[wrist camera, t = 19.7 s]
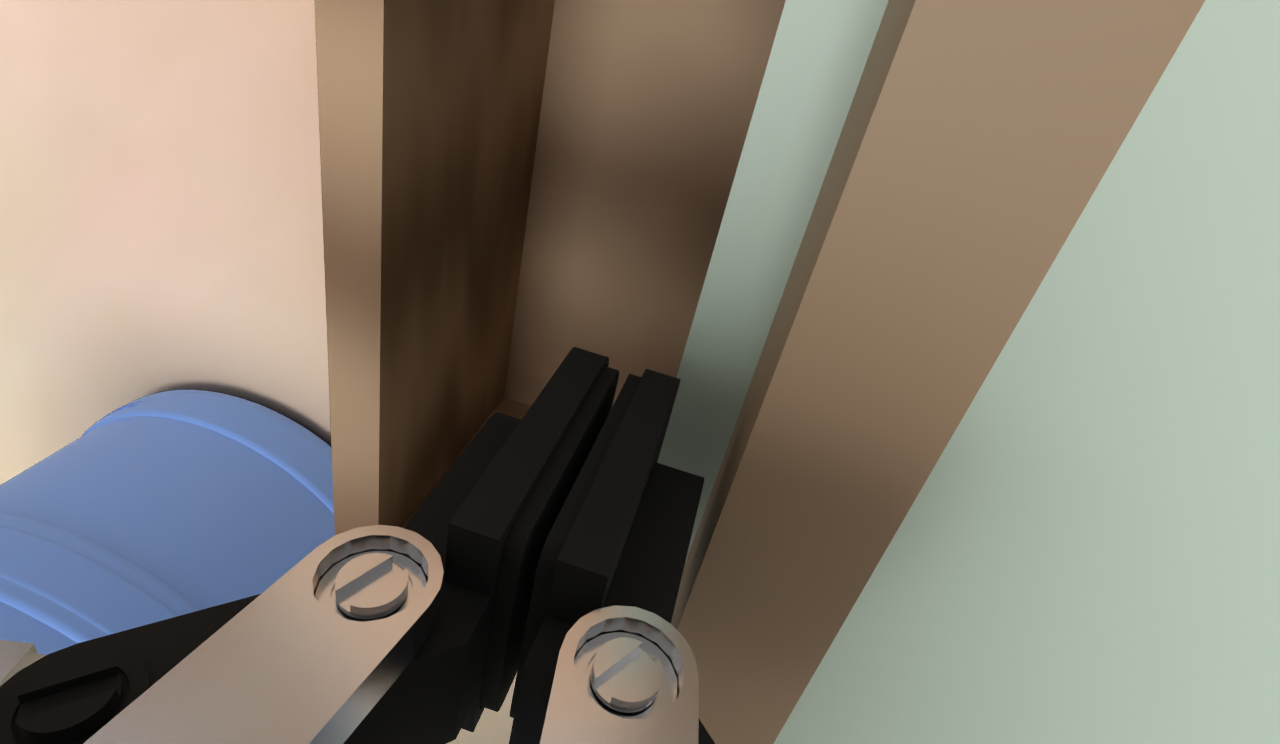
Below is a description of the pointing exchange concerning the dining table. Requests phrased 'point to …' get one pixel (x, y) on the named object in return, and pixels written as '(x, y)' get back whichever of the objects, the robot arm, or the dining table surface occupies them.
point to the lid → (993, 381)
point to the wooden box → (512, 208)
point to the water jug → (159, 517)
